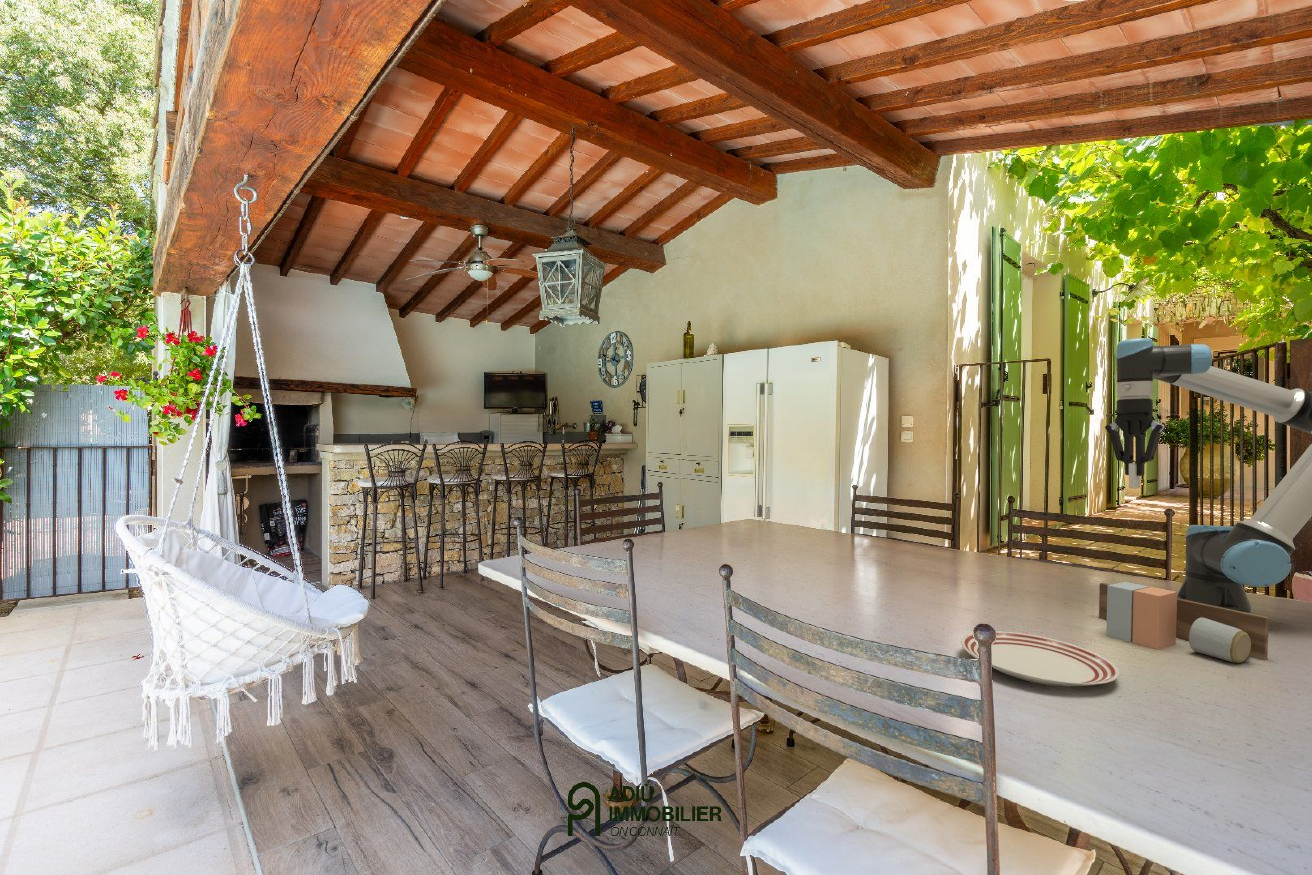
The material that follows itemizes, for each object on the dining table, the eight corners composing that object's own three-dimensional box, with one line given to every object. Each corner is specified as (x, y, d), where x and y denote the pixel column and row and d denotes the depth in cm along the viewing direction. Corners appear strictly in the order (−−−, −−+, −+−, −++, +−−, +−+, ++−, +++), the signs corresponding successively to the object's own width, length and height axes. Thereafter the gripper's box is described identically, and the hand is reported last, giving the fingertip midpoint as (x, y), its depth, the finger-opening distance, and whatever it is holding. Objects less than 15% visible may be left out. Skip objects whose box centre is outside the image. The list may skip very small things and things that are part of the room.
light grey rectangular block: (1124, 630, 149) (1125, 581, 149) (1148, 636, 145) (1149, 586, 145) (1106, 635, 146) (1107, 585, 145) (1130, 642, 141) (1131, 590, 141)
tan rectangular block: (1150, 637, 145) (1151, 586, 144) (1175, 644, 140) (1177, 591, 140) (1132, 642, 141) (1133, 590, 141) (1158, 649, 136) (1159, 596, 136)
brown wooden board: (1101, 617, 160) (1102, 582, 160) (1267, 658, 131) (1268, 617, 131) (1098, 617, 159) (1099, 583, 159) (1264, 659, 131) (1265, 618, 131)
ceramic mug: (1234, 667, 127) (1235, 630, 127) (1187, 653, 134) (1188, 618, 134) (1261, 660, 131) (1262, 624, 131) (1214, 647, 139) (1215, 613, 138)
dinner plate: (1092, 654, 134) (1093, 639, 134) (1143, 708, 108) (1143, 689, 108) (953, 638, 143) (954, 623, 143) (969, 684, 118) (970, 667, 118)
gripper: (1099, 399, 165) (1099, 487, 165) (1157, 396, 153) (1158, 491, 154) (1113, 399, 168) (1113, 485, 169) (1171, 397, 157) (1171, 489, 157)
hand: (1134, 488), depth 161 cm, fingers closed
